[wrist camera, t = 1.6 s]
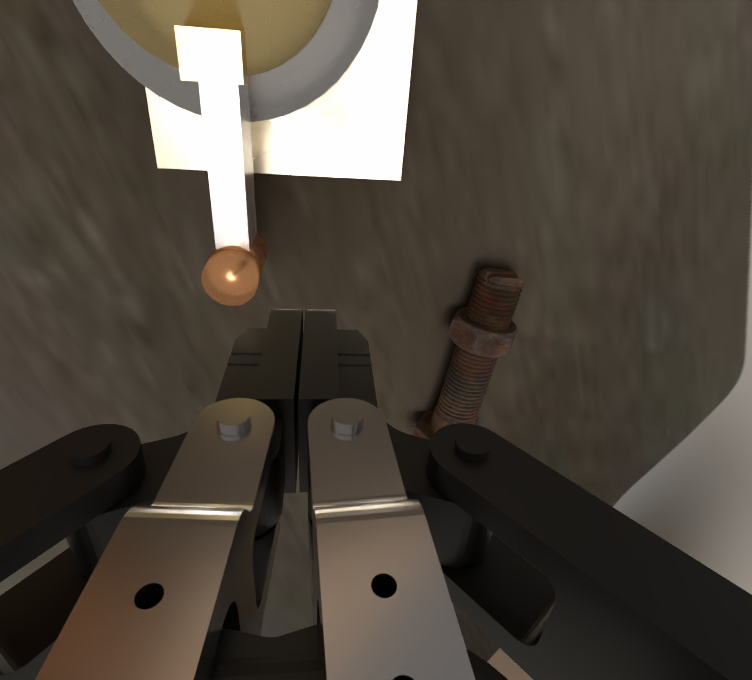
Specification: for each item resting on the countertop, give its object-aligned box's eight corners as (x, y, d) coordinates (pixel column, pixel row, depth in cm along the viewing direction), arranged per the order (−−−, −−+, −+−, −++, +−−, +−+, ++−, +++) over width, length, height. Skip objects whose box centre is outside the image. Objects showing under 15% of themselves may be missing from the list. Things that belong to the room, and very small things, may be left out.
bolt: (495, 256, 36) (443, 416, 42) (446, 258, 33) (400, 430, 39) (559, 287, 32) (491, 458, 38) (511, 293, 29) (447, 477, 35)
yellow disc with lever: (56, -264, 17) (-22, -358, 13) (347, -222, 18) (353, -296, 14) (151, 268, 27) (122, 303, 23) (334, 274, 28) (335, 307, 24)
